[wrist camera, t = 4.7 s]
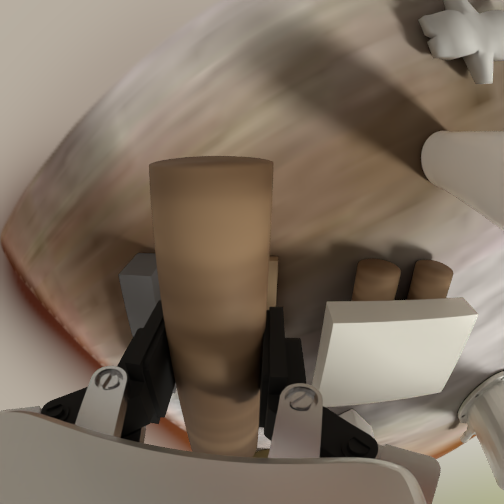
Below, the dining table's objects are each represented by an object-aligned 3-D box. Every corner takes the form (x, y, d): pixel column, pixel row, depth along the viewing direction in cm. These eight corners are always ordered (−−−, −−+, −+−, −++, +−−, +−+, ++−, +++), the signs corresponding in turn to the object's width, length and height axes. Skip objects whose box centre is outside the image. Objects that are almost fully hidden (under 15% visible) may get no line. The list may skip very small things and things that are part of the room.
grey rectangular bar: (183, 365, 33) (174, 393, 29) (159, 362, 33) (148, 389, 29) (167, 253, 27) (151, 276, 23) (137, 253, 27) (118, 274, 23)
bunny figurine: (416, -18, 13) (530, -4, 9) (399, 0, 18) (506, 5, 14) (458, 85, 17) (560, 82, 12) (433, 89, 21) (532, 82, 17)
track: (407, 363, 32) (417, 385, 28) (216, 367, 33) (211, 393, 29) (440, 259, 26) (460, 277, 23) (208, 254, 27) (199, 275, 24)
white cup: (408, 191, 24) (521, 261, 10) (413, 116, 21) (542, 125, 8) (463, 197, 24) (573, 261, 10) (470, 130, 21) (592, 156, 7)
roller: (257, 419, 16) (256, 471, 12) (195, 415, 16) (186, 465, 12) (271, 157, 10) (276, 170, 7) (169, 156, 10) (129, 171, 7)
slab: (431, 373, 27) (441, 392, 24) (311, 384, 28) (314, 407, 25) (462, 297, 23) (478, 314, 21) (326, 301, 24) (333, 323, 21)
